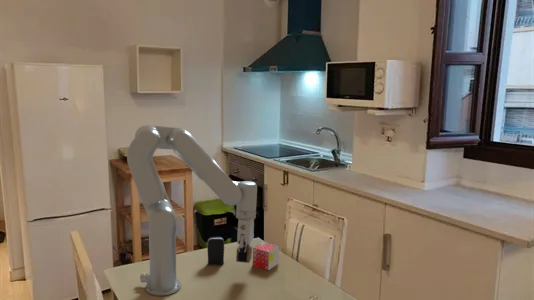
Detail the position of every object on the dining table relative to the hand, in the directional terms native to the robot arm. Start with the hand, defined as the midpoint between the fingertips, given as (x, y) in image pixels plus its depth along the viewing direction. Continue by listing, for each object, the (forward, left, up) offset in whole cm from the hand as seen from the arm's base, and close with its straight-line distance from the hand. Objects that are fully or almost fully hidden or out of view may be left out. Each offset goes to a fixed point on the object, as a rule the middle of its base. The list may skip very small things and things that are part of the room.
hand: (243, 257), depth 166 cm
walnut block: (0, 0, -1) cm, 1 cm away
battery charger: (-14, +10, -8) cm, 19 cm away
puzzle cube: (+7, +13, -8) cm, 17 cm away
